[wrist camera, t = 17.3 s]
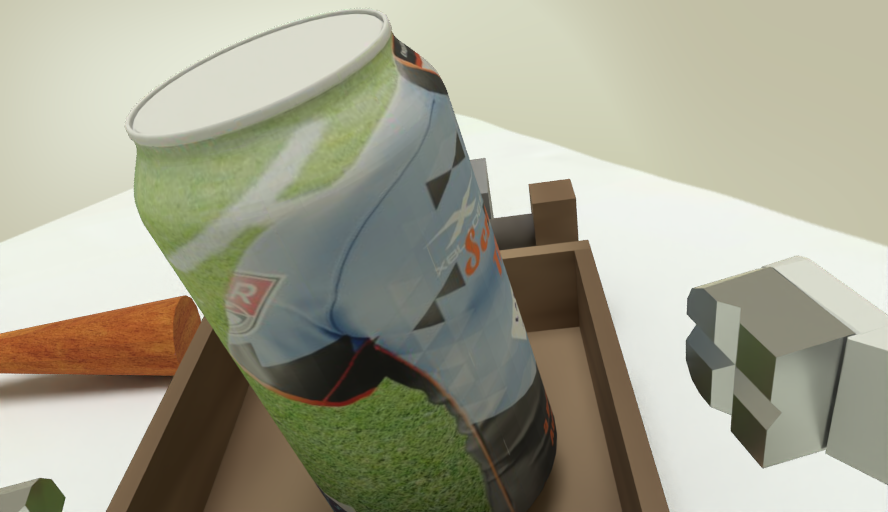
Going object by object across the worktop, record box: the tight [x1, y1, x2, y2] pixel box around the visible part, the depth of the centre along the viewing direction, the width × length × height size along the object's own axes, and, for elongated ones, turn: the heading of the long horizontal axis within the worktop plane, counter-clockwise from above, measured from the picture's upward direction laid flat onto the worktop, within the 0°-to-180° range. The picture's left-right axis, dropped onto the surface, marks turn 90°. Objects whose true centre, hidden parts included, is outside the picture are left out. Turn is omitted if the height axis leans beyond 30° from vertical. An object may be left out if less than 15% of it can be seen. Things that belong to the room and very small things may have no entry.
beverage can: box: [125, 8, 557, 512], centre depth 15 cm, size 6×7×12 cm
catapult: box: [106, 158, 669, 512], centre depth 22 cm, size 12×18×6 cm, turn 179°
